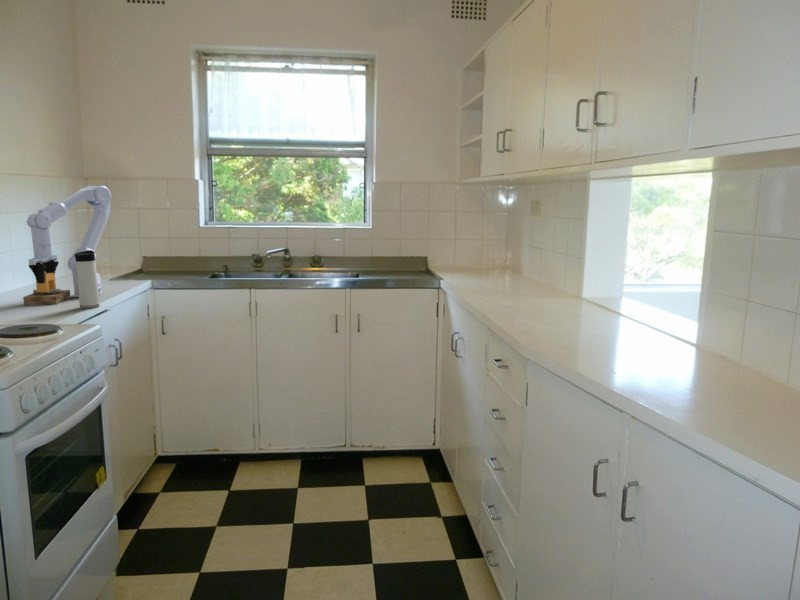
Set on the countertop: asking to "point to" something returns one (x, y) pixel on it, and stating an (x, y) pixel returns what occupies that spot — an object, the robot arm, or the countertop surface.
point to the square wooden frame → (47, 297)
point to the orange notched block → (46, 283)
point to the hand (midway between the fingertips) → (45, 281)
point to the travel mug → (87, 279)
